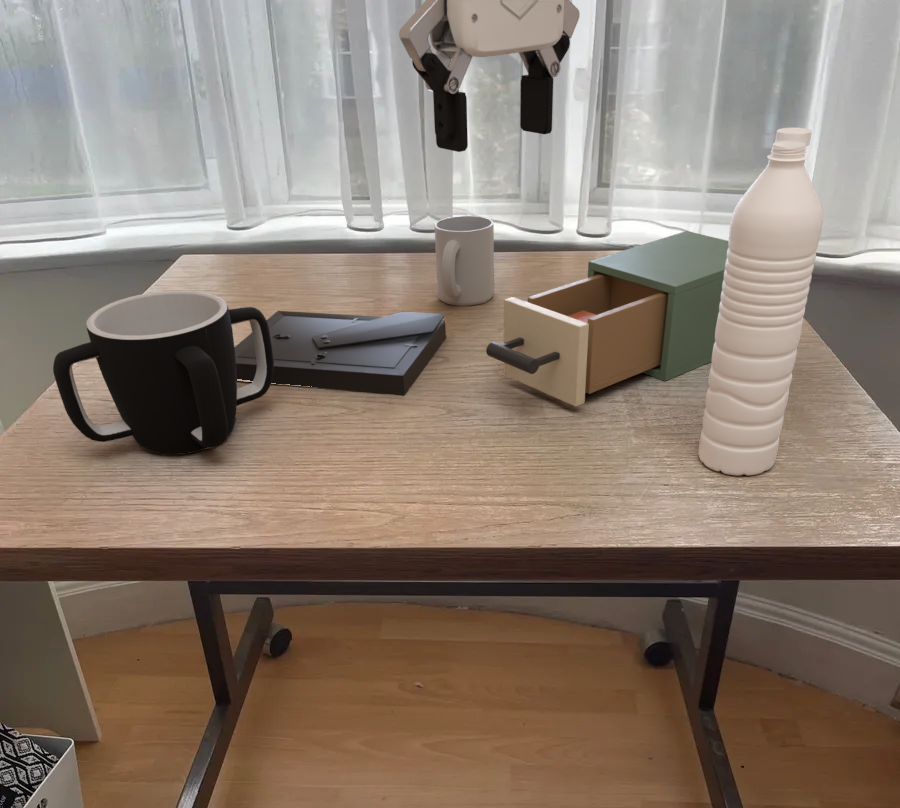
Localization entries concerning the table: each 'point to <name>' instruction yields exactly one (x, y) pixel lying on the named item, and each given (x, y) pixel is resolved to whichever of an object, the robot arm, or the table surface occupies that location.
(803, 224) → the water bottle
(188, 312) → the mug
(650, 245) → the cabinet
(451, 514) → the table surface
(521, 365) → the drawer
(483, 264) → the cup
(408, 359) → the picture frame
